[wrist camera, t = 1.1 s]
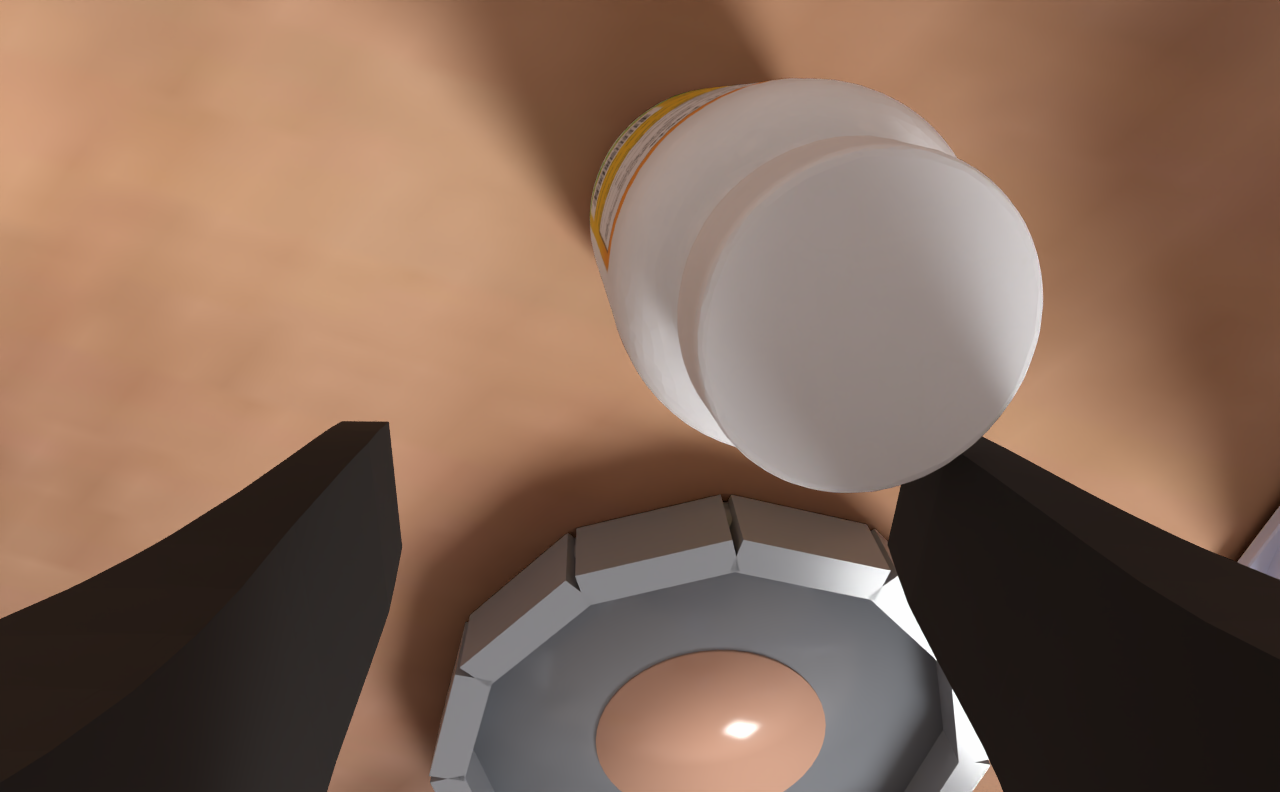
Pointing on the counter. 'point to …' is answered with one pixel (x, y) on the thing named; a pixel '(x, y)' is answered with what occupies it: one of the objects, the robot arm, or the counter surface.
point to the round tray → (704, 665)
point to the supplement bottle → (816, 279)
